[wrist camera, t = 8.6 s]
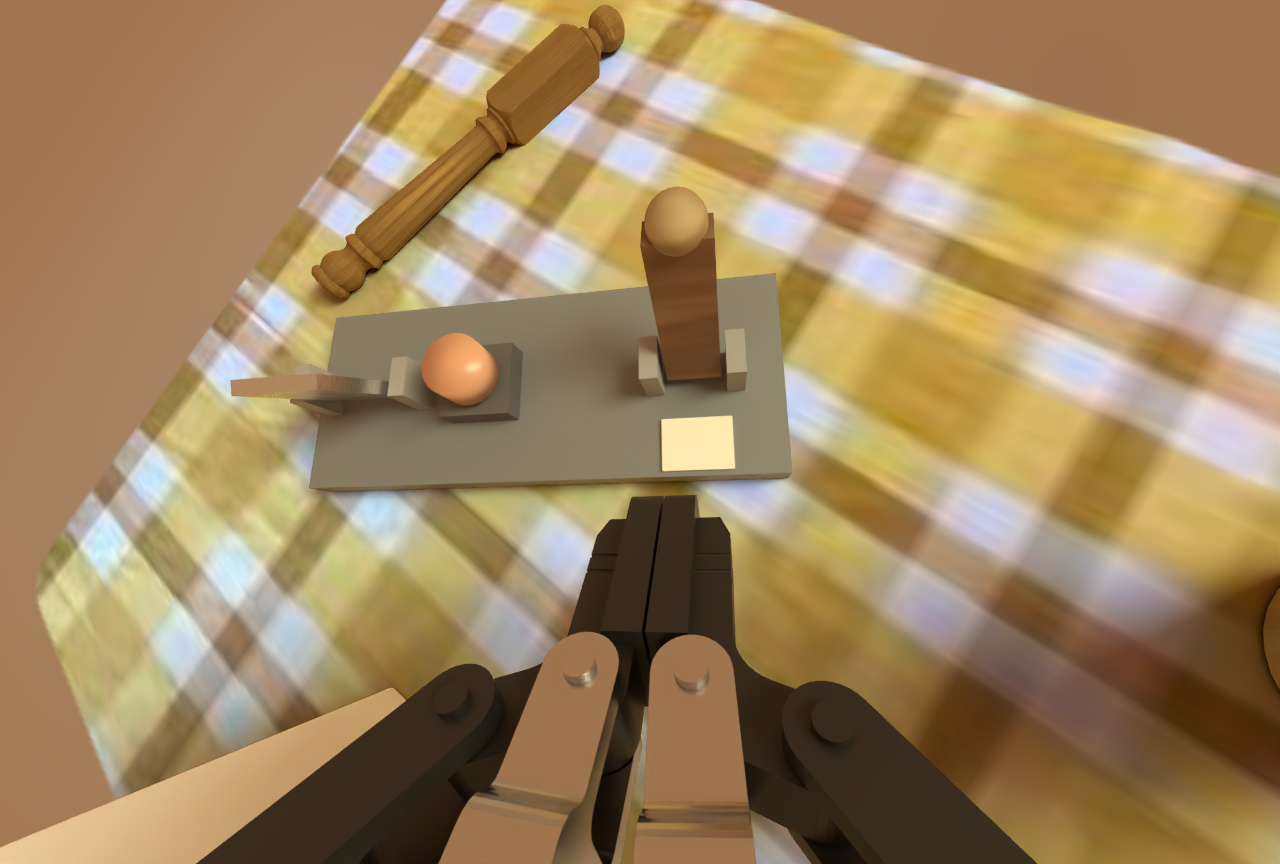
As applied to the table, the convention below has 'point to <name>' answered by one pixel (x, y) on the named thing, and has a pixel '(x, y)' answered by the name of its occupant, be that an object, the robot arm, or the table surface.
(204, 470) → the table surface
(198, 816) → the milk
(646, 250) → the walnut lever
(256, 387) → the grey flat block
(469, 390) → the terracotta button
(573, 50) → the turned wooden table leg
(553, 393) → the control panel
